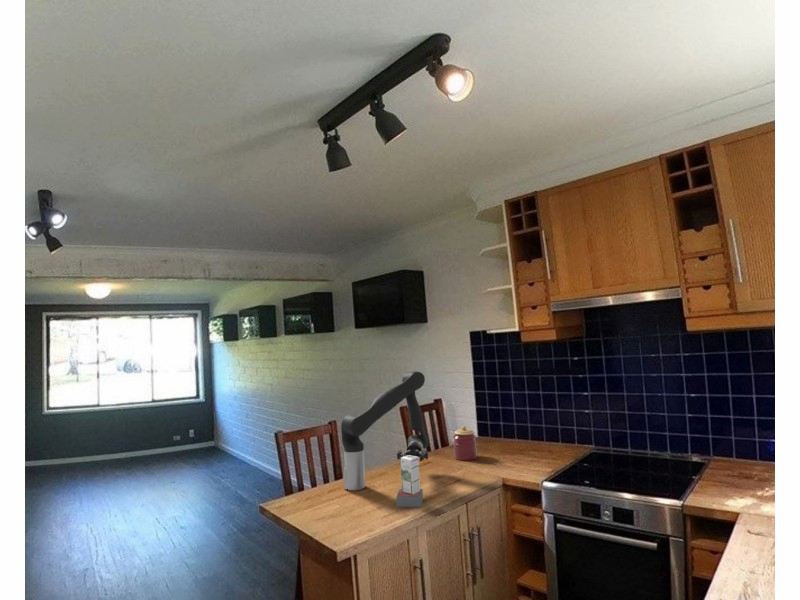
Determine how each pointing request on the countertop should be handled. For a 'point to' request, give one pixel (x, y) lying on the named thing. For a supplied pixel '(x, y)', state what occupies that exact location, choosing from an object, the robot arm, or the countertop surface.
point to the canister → (464, 444)
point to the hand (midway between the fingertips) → (411, 459)
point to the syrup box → (410, 474)
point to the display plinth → (409, 499)
